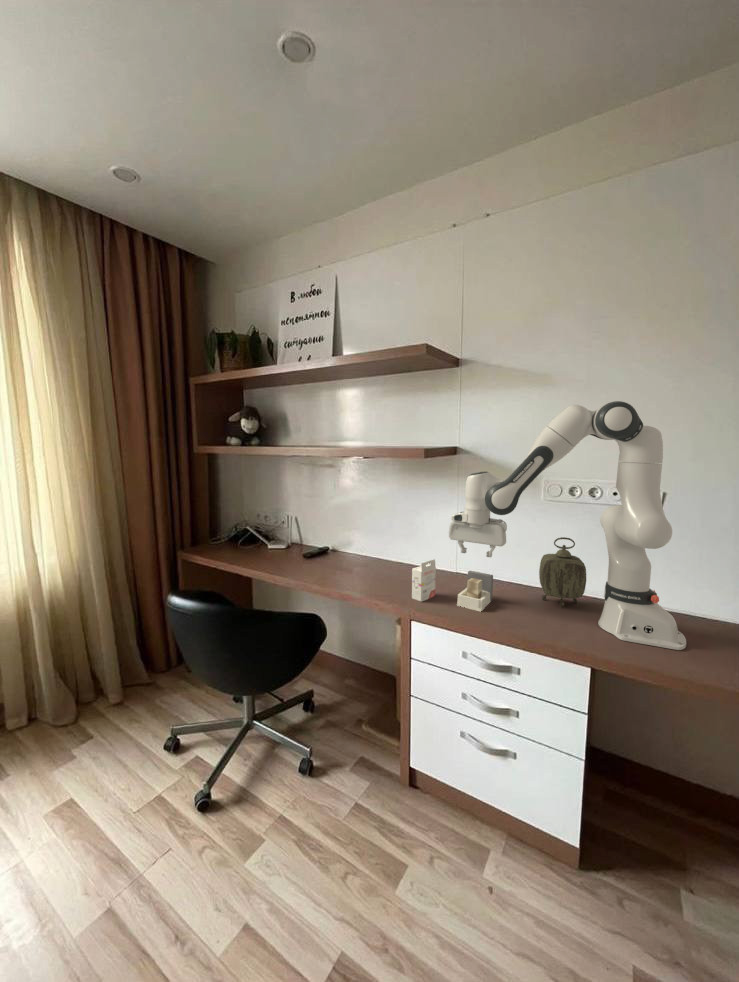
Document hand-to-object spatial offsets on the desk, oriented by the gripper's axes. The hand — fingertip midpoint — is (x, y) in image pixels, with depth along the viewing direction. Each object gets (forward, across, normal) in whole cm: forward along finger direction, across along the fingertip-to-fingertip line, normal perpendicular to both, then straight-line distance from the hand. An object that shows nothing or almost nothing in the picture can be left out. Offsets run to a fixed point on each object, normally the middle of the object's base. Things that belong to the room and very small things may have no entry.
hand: (476, 554), depth 141 cm
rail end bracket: (+18, 0, 0) cm, 18 cm away
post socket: (+18, 0, 0) cm, 19 cm away
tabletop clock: (+19, -26, -19) cm, 37 cm away
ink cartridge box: (+19, +18, +5) cm, 27 cm away
